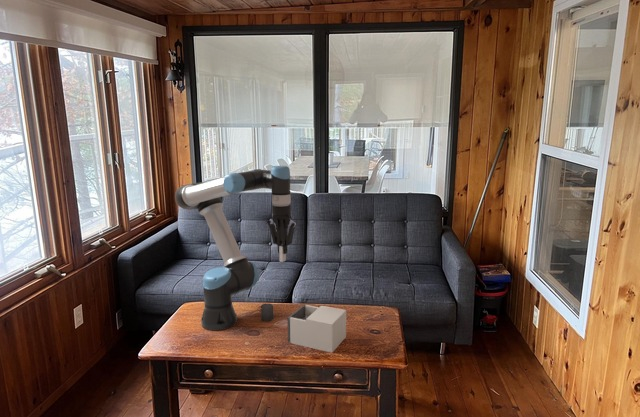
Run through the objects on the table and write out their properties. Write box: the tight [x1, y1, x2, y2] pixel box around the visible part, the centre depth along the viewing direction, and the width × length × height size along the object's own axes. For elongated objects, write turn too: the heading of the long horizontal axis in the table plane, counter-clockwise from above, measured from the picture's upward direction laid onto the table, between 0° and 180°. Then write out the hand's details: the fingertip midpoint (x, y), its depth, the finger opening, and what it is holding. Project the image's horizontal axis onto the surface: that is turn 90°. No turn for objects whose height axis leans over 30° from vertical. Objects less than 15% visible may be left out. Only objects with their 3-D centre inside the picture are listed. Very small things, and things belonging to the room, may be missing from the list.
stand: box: [260, 303, 275, 323], centre depth 194 cm, size 6×6×6 cm
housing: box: [289, 304, 347, 354], centre depth 174 cm, size 18×14×12 cm
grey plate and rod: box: [286, 304, 307, 343], centre depth 175 cm, size 18×14×10 cm
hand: (282, 260), depth 181 cm, fingers closed
